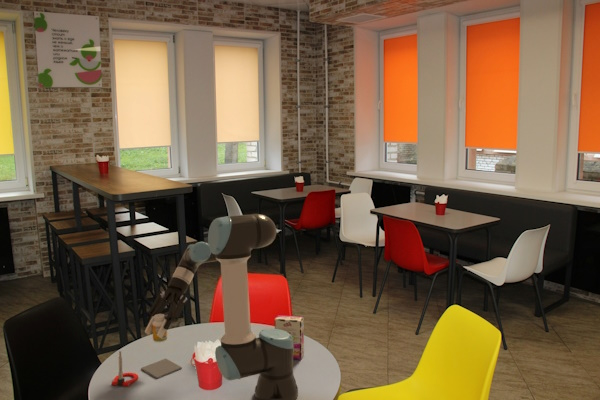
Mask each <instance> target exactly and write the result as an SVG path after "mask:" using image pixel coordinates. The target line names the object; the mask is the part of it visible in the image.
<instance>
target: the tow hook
mask: <svg viewBox="0 0 600 400" xmlns="http://www.w3.org/2000/svg"><path fill="white" fill-rule="evenodd" d="M125 377H131V379H128V380H126V381H125ZM138 380H139V375H138V374H137V373H134V372H123V357H122V351H120V350H119V351H118V374H117V375H116V376H114V379H113V380H112V381H111V386H118V387H130V386H131V384H133V383H135V382H137V381H138Z"/></svg>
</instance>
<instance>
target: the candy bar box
mask: <svg viewBox="0 0 600 400" xmlns="http://www.w3.org/2000/svg"><path fill="white" fill-rule="evenodd" d="M304 321H305V319H304V316H294V315H293V316H292V315H282V314H281V315H279V314H278V315H277V316H276V317H275V318H274V329H280V330H283V331H286V332H288V333H289V334H290V335H291V336H292V338H293V346H294V348H293V360H297V361H298V360H299V361H301V360H302V359H303V357H304V354H305V335H304V334H305V329H304V328H305V326H304Z"/></svg>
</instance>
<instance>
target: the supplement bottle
mask: <svg viewBox="0 0 600 400" xmlns="http://www.w3.org/2000/svg"><path fill="white" fill-rule="evenodd" d="M164 319H166V317H165V314H164V313H160V314H156V315H154V321H153V323H152V328H153V330H152V340H153V342H155V343H163V342H165V341H167V340H168V338H169V337H168V330H166V331H165V333H164V335H163V337H162V338H160V337H159V336H157V333H158V331H159V329H160V327H161V325H162V323H163V321H164Z"/></svg>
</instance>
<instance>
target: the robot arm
mask: <svg viewBox="0 0 600 400" xmlns="http://www.w3.org/2000/svg"><path fill="white" fill-rule="evenodd" d="M276 237H277V227H276V225H275V222H274V221H273V220H272V219H271V218H270V217H269V216H267V215H265V214H261V213H260V214H259V213H251V214H241V215H228V216H227V215H226V216H221V217H217V218H215V219H213V220H212V222H211V223H210V225H209V229H208V235H207V242H205V241H198V242H196V243H195V244H194V243H193V244H189V245H188V246H187V248H186V249H185V251H184V252H183V255H182V257H181V259H180V261H179V263H178V265H177V267H176V269H175V271H174V273H173V274H172V277H171V279H170V280H169V281H168V284H167V288H166V289H165V290H164V291H161V290H158V292H157V296H156V297H155V299H154V301H153V303H152V304H151V307H150V309H149V311H148V314H149V315H150V317H149V320H148V321H147V326H146V328H145V330H144V334H146V335H147V336H150V335H151V334H152V333H153V328H152V323H153V321H154V315H156V314H162V312H163V310H164V309H165V308H166V307H167V306H168V305H169V304H170V305H169V308H168V309H169V310H168V313H167V317H165V319H164V321H163V323H162V325H161V327H160V329H159V331H158V333H157V336H159V337H160V338H162V337H163V335H164V333H165V331H166V330H167V331H168V330H169V328H170V326H171V324H172V323H174V322H175V323H176V322H178V320H179V318H180V316H181V314H182V311H183V309H184V307H185V305H186V304H187V302H188V301H189V299H188V298H187V297H186V296H185V295H184V294H186V292H187V290H188V289H189V285H190V284H191V283H192V280H193V278H194V276H195V274H196V272H197V271H198V268H199V266H201V265H202V264H205V263H212V262H218V263H220V275H221V288H222V289H221V291H222V307H223V309H222V310H223V324H224V334H223V335H222V337H220V345H218V346H217V347H216V348H215V351H214V354H215V355H214V356H215V361H216V364H217V365H216V366H217V367H218V370H219V372H220V374H221V375H222V377H223V379H225V380H227V381H234V380H241V379H244V378H249V377H251V376H256V375H259V376H258V379H257V382H256V385H255V388H254V397H255V399H256V400H297V398H298V396H299V387H298V385H297V382H296V378H295V375H294V359H293V348H294V346H293V338H292V336H291V335H290V334H289V333H288V332H286V331H283V330H280V329H275V328H265V329H262V330H261V331H259V334H258V337H256V334H255V333H254V332H253V331H252V329H251V328H252V327H251V326H252V325H251V313H250V312H251V311H250V296H249V295H250V293H249V277H248V276H249V275H248V260H249V259H250V258H251V256H252V253H251V252H252V250H254V249H255V250H256V249H260V248H264V247H268V246H269V245H271V244H272V243H273V242H274V240H275V239H276Z"/></svg>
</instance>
